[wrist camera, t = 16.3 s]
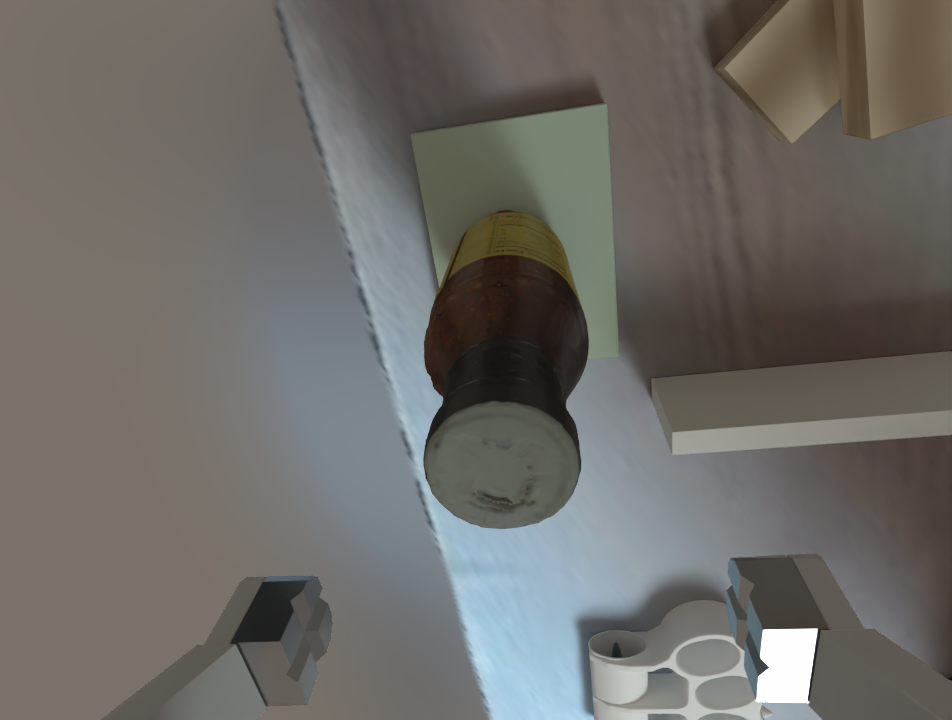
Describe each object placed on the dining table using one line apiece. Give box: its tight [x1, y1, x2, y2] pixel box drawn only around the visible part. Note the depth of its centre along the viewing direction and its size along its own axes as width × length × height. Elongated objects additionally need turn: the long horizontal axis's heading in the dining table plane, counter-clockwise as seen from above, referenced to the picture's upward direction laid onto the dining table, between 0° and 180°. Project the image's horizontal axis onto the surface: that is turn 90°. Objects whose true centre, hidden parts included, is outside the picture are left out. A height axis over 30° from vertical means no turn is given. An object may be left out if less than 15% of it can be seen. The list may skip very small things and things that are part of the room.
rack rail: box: [651, 351, 952, 455], centre depth 32 cm, size 2×20×6 cm, turn 99°
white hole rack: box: [588, 600, 774, 720], centre depth 47 cm, size 3×18×15 cm
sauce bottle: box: [424, 210, 589, 529], centre depth 24 cm, size 7×6×20 cm
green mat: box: [410, 103, 619, 360], centre depth 33 cm, size 14×10×1 cm
